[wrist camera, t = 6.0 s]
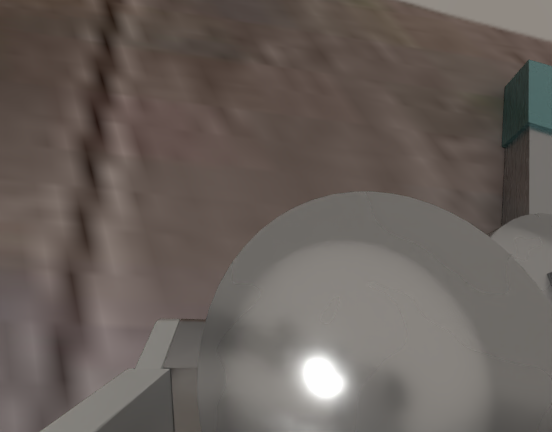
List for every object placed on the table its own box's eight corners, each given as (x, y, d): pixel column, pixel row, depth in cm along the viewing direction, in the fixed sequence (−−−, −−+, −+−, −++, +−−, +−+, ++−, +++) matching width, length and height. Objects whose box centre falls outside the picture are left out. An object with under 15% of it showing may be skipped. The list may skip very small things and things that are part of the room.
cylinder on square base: (223, 462, 11) (163, 675, 3) (231, 301, 13) (210, 182, 5) (379, 458, 12) (688, 640, 3) (361, 302, 14) (520, 194, 6)
